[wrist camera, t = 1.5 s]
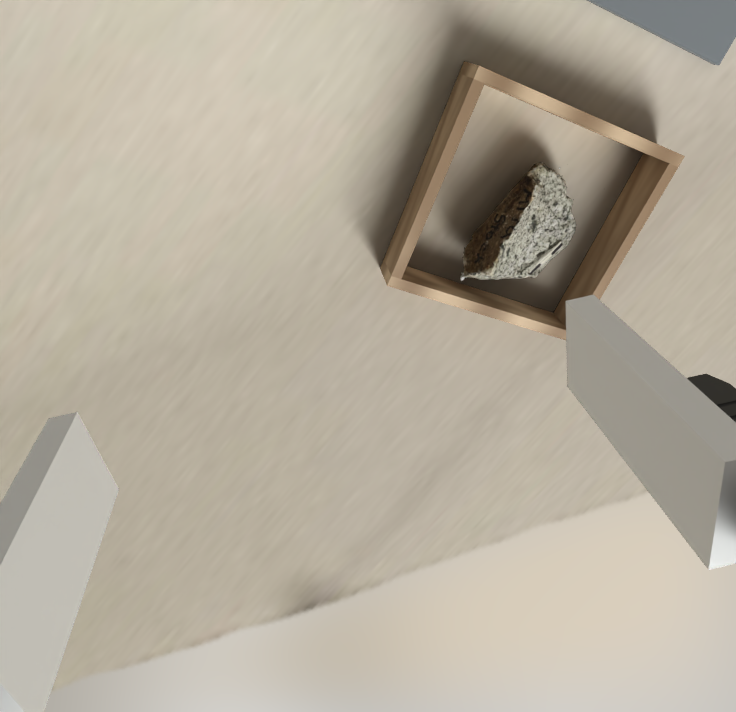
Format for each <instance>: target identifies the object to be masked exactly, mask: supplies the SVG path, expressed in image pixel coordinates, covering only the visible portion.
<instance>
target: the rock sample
mask: <svg viewBox="0 0 736 712" xmlns="http://www.w3.org/2000/svg"><path fill="white" fill-rule="evenodd" d="M559 168H560V167H559ZM561 177H562V176H560V175H559V174H557V173H556V172H555V171H554V170H552V169H550V168H548V167H547V166H546V165H545V164H544V163H542V162H540V163H537V164H534V166H533V167H532V168H531V169H530V171H529V172H528V173H526V174H525V176H524V177H523V178H522V179H521V180H520V181H519V182H518V184H517V185H516V186H515V187H514V188H513V189H512V190H511V191H510V192H509V193H508V195H507V197H506V198H504V199H503V201H502V202H501V203H500V204H499V205H498V206H497V207H496V209H495V210H494V212H493V213H492V214H491V215H490V216H489V217H488V218H487V220H486V221H485V222H484V223H483V224H481V225H480V227H479V228H477V229H476V231H475V232H474V234H473V235H472V239H471V240H470V242H469V243H468V244H467V246H466V248H465V247H464V256H463V258H464V259H463V264H464V272H461V273H463V274H464V275H463V274H462V276H460V279H461V280H464V278H465V277H472V278H477V279H480V280H484V279H487V280H490V279H494V280H499V279H508V278H510V279H511V278H518V279H521V278H526V277H530V278H535V277H537V275H538V274H539V273H540V272H541V271H542V270H543V269H544V268H545V266H546V265H547V264H548V263H549V261H550V260H551V259H552V258H554V257H555V256H557V255H558V253H560V251H561V250H563V249H565V248H566V247H567V245H568V243H569V242H570V240H571V238H572V237H573V234H574V233H575V231H576V222H575V219H574V217H573V214H572V212H571V208H572V204H573V201H572V200H571V199H570V198H569V197H568V196H566V191H567V187H566V184H565V181H564V180H563V179H562V178H561ZM573 200H574V199H573Z"/></svg>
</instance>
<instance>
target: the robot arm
mask: <svg viewBox="0 0 736 712" xmlns="http://www.w3.org/2000/svg"><path fill="white" fill-rule="evenodd" d="M566 350H567V387H568V388H569V389H570V390H571V392H572V393H573V394H574V396H575V397H576V398H577V400H578V401H579V402H580V403H581V405H582V406H583V407H584V409H585V410H586V411H587V413H588V414H589V415H590V416H591V418H592V419H593V420H594V422H595V423H596V424H597V426H598V427H599V428H600V429H601V431H602V432H603V433H604V435H605V436H606V437H607V439H608V440H609V441H610V442H611V444H612V445H613V446H614V448H615V449H616V450H617V452H618V453H619V454H620V455H621V457H622V458H623V459H624V461H625V462H626V463H627V465H628V466H629V467H630V468H631V470H632V471H633V472H634V474H635V475H636V476H637V478H638V479H639V480H640V481H641V483H642V484H643V485H644V487H645V488H646V489H647V491H648V492H649V493H650V494H651V496H652V497H653V498H654V499H655V501H656V502H657V504H658V505H659V506H660V507H661V508H662V510H663V511H664V512H665V514H666V515H667V517H668V518H669V519H670V520H671V522H672V523H673V524H674V526H675V527H676V528H677V529H678V531H679V532H680V533H681V535H682V536H683V537H684V539H685V540H686V541H687V543H688V544H689V545H690V546H691V548H692V549H693V550H694V551H695V553H696V554H697V555H698V557H699V558H700V559H701V561H702V562H703V563H704V565H705V566H706V567H707V568H708V570H710V569H714V568H718V567H723V566H727V565H731V564H735V563H736V389H735V388H734V387H733V386H732V385H731V384H729V383H727V382H724V381H722V380H720V379H717V378H715V377H713V376H710V375H708V374H702V375H698V376H694V377H689V378H686V377H685V376H684V375H682V374H681V373H680V372H679V371H678V370H677V369H676V368H675V367H674V366H672V365H671V364H670V363H669V362H668V361H667V360H666V359H665V358H664V357H662V356H661V355H660V354H659V353H658V352H657V351H656V350H655V349H654V348H652V347H651V346H650V345H649V344H648V343H647V342H646V341H645V340H644V339H642V338H641V337H640V336H639V335H638V334H637V333H636V332H635V331H634V330H632V329H631V328H630V327H629V326H628V325H627V324H626V323H625V322H624V321H622V320H621V319H620V318H619V317H618V316H617V315H616V314H615V313H614V312H612V311H611V310H610V309H609V308H608V307H607V306H606V305H605V304H604V303H602V302H601V301H600V300H599V299H598V298H597V297H596V296H595V295H589V296H585V297H581V298H576V299H572V300H567V301H566ZM118 491H119V488H118V486H117V485H116V483H115V481H114V479H113V477H112V475H111V473H110V471H109V470H108V468H107V466H106V464H105V462H104V460H103V458H102V457H101V455H100V453H99V451H98V449H97V447H96V445H95V444H94V442H93V440H92V438H91V436H90V434H89V432H88V430H87V429H86V427H85V425H84V423H83V421H82V419H81V417H80V416H79V414H78V412H75V413H71V414H66V415H62V416H57V417H53V418H49V419H48V421H47V422H46V424H45V426H44V428H43V429H42V431H41V433H40V435H39V436H38V438H37V440H36V442H35V443H34V445H33V447H32V449H31V451H30V452H29V454H28V456H27V458H26V459H25V461H24V463H23V465H22V466H21V468H20V470H19V472H18V474H17V475H16V477H15V479H14V481H13V482H12V484H11V486H10V488H9V489H8V491H7V493H6V495H5V496H4V498H3V500H2V502H1V504H0V712H44V711H45V708H46V705H47V702H48V699H49V696H50V693H51V690H52V688H53V685H54V682H55V679H56V676H57V673H58V670H59V667H60V664H61V661H62V658H63V655H64V652H65V649H66V646H67V643H68V640H69V637H70V634H71V631H72V628H73V625H74V622H75V619H76V616H77V613H78V610H79V607H80V604H81V601H82V598H83V595H84V592H85V589H86V586H87V583H88V580H89V577H90V574H91V571H92V568H93V565H94V562H95V559H96V556H97V553H98V550H99V547H100V544H101V541H102V538H103V535H104V532H105V529H106V526H107V523H108V520H109V517H110V514H111V512H112V509H113V506H114V503H115V500H116V497H117V494H118Z"/></svg>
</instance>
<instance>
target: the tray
mask: <svg viewBox="0 0 736 712" xmlns="http://www.w3.org/2000/svg"><path fill="white" fill-rule="evenodd" d="M484 84H485V85H487V86H489V87H492V88H494V89H496V90H499V91H501V92H503V93H505V94H508V95H510V96H512V97H515V98H517V99H519V100H522V101H524V102H526V103H529V104H531V105H533V106H536V107H538V108H540V109H543V110H545V111H547V112H549V113H552V114H554V115H556V116H559V117H561V118H563V119H566V120H568V121H570V122H573V123H575V124H577V125H580V126H582V127H584V128H586V129H589V130H591V131H593V132H596V133H598V134H600V135H603V136H605V137H607V138H610V139H612V140H614V141H617V142H619V143H621V144H624V145H626V146H628V147H630V148H633V149H635V150H637V151H640V152H642V153H643V155H642V156H641V158H640V160H639V162H638V164H637V165H636V167H635V169H634V171H633V172H632V174H631V176H630V178H629V180H628V181H627V183H626V185H625V187H624V188H623V190H622V192H621V194H620V196H619V197H618V199H617V201H616V203H615V204H614V206H613V208H612V210H611V212H610V213H609V215H608V217H607V219H606V220H605V222H604V224H603V226H602V228H601V229H600V231H599V233H598V235H597V236H596V238H595V240H594V242H593V244H592V245H591V247H590V249H589V251H588V252H587V254H586V256H585V258H584V260H583V261H582V263H581V265H580V267H579V268H578V270H577V272H576V274H575V276H574V277H573V279H572V281H571V283H570V284H569V286H568V288H567V290H566V292H565V293H564V295H563V297H562V299H561V300H560V302H559V304H558V306H557V308H556V309H555V311H554V313H552V312H549V311H546V310H543V309H540V308H536V307H533V306H530V305H527V304H524V303H521V302H518V301H514V300H511V299H508V298H505V297H502V296H499V295H496V294H492V293H489V292H486V291H483V290H480V289H477V288H474V287H470V286H467V285H464V284H461V283H458V282H455V281H452V280H449V279H445V278H442V277H439V276H436V275H433V274H430V273H427V272H423V271H420V270H417V269H414V268H411V267H408V266H407V265H408V262H409V260H410V258H411V255H412V253H413V251H414V248H415V246H416V244H417V241H418V239H419V236H420V234H421V232H422V229H423V227H424V225H425V222H426V220H427V218H428V215H429V213H430V211H431V208H432V206H433V204H434V201H435V199H436V197H437V194H438V192H439V190H440V187H441V185H442V183H443V180H444V178H445V175H446V173H447V171H448V168H449V166H450V164H451V161H452V159H453V157H454V154H455V152H456V150H457V147H458V145H459V143H460V140H461V138H462V136H463V133H464V131H465V129H466V126H467V124H468V121H469V119H470V117H471V114H472V112H473V110H474V107H475V105H476V103H477V100H478V98H479V96H480V93H481V91H482V89H483V86H484ZM684 157H685V156H683V155H681V154H678V153H676V152H674V151H672V150H669V149H667V148H665V147H663V146H660V145H658V144H656V143H654V142H651V141H649V140H647V139H644V138H642V137H640V136H638V135H635V134H633V133H631V132H629V131H626V130H624V129H622V128H620V127H617V126H615V125H613V124H610V123H608V122H606V121H604V120H601V119H599V118H597V117H595V116H592V115H590V114H588V113H586V112H583V111H581V110H579V109H576V108H574V107H572V106H570V105H567V104H565V103H563V102H561V101H558V100H556V99H554V98H552V97H549V96H547V95H545V94H542V93H540V92H538V91H536V90H533V89H531V88H529V87H527V86H524V85H522V84H520V83H517V82H515V81H513V80H511V79H508V78H506V77H504V76H502V75H499V74H497V73H495V72H493V71H490V70H488V69H486V68H483V67H481V66H479V65H475V64H472V63H468V62H465V61H464V62H463V65H462V67H461V70H460V72H459V75H458V77H457V79H456V82H455V84H454V87H453V89H452V92H451V94H450V97H449V99H448V102H447V104H446V107H445V109H444V112H443V114H442V116H441V119H440V121H439V124H438V126H437V129H436V131H435V134H434V136H433V139H432V141H431V144H430V146H429V149H428V151H427V153H426V156H425V158H424V161H423V163H422V166H421V168H420V171H419V173H418V176H417V178H416V181H415V183H414V185H413V188H412V190H411V193H410V195H409V198H408V200H407V203H406V205H405V208H404V210H403V213H402V215H401V218H400V220H399V222H398V225H397V227H396V230H395V232H394V235H393V237H392V240H391V242H390V245H389V247H388V250H387V252H386V255H385V257H384V259H383V262H382V264H381V267H380V269H381V272H382V274H383V277H384V279H385V281H386V284H387V286H390V287H393V288H396V289H400V290H403V291H406V292H409V293H413V294H416V295H419V296H422V297H426V298H429V299H432V300H436V301H439V302H442V303H445V304H449V305H452V306H455V307H458V308H462V309H465V310H468V311H472V312H475V313H478V314H481V315H485V316H488V317H491V318H495V319H498V320H501V321H504V322H508V323H511V324H514V325H517V326H521V327H524V328H527V329H531V330H534V331H537V332H540V333H544V334H547V335H550V336H554V337H557V338H560V339H563V340H566V301H567V300H572V299H576V298H581V297H585V296H589V295H595V296H596V297H597V298H598V299H599V300H600V298H601V297H602V295H603V293H604V292H605V290H606V288H607V286H608V285H609V283H610V281H611V280H612V278H613V276H614V275H615V273H616V271H617V270H618V268H619V266H620V265H621V263H622V261H623V260H624V258H625V256H626V254H627V253H628V251H629V249H630V248H631V246H632V244H633V243H634V241H635V239H636V238H637V236H638V234H639V233H640V231H641V229H642V228H643V226H644V224H645V222H646V221H647V219H648V217H649V216H650V214H651V212H652V211H653V209H654V207H655V206H656V204H657V202H658V201H659V199H660V197H661V195H662V194H663V192H664V190H665V189H666V187H667V185H668V184H669V182H670V180H671V179H672V177H673V175H674V174H675V172H676V170H677V169H678V167H679V165H680V163H681V162H682V160H683V158H684Z"/></svg>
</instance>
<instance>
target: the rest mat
mask: <svg viewBox="0 0 736 712" xmlns="http://www.w3.org/2000/svg"><path fill="white" fill-rule="evenodd" d="M587 1H589V2H591V3H593V4H595V5H597V6H599V7H601V8H603V9H605V10H607V11H609V12H611V13H613V14H615V15H617V16H619V17H621V18H623V19H625V20H627V21H629V22H631V23H633V24H635V25H637V26H639V27H641V28H643V29H645V30H647V31H649V32H651V33H653V34H655V35H657V36H658V37H660V38H662V39H664V40H666V41H668V42H670V43H672V44H674V45H676V46H678V47H680V48H682V49H684V50H686V51H688V52H690V53H692V54H694V55H696V56H698V57H700V58H702V59H704V60H706V61H708V62H710V63H712V64H714V65H720V63H721V61H722V60H723V58H724V56H725V54H726V53H727V51H728V49H729V48H730V46H731V44H732V42H733V41H734V39H735V37H736V0H587Z"/></svg>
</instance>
